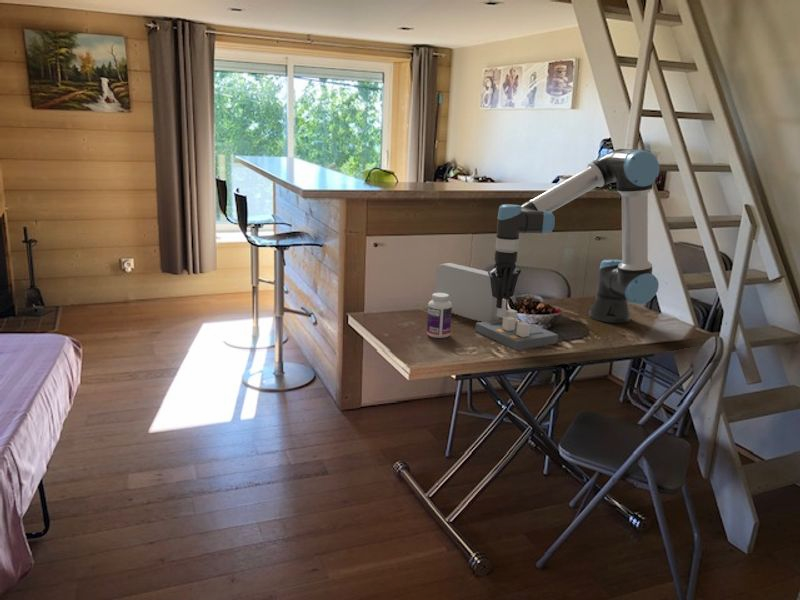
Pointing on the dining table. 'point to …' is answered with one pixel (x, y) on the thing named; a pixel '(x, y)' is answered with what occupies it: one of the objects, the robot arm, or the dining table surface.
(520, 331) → the switch
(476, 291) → the rounded white slab
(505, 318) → the switch middle
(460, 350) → the dining table surface
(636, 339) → the dining table surface
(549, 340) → the switch board
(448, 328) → the pill bottle
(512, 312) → the switch
